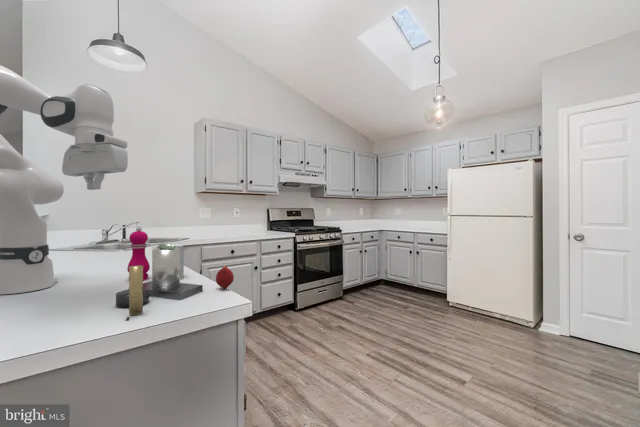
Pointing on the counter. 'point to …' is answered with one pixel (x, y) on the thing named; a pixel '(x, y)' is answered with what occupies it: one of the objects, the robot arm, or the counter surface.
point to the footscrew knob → (134, 292)
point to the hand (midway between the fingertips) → (93, 189)
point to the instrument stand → (168, 275)
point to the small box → (180, 258)
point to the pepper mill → (139, 251)
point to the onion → (224, 277)
